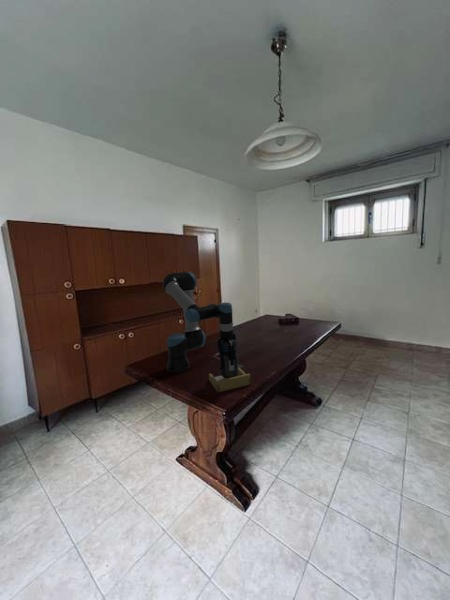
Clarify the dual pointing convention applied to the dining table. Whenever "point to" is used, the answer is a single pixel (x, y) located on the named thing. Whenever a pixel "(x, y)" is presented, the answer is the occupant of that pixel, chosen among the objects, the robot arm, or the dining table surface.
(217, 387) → the dock bay
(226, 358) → the beverage bottle
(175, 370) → the robot arm
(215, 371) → the dining table surface
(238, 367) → the gray rectangular block
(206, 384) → the dining table surface
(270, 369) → the dining table surface
